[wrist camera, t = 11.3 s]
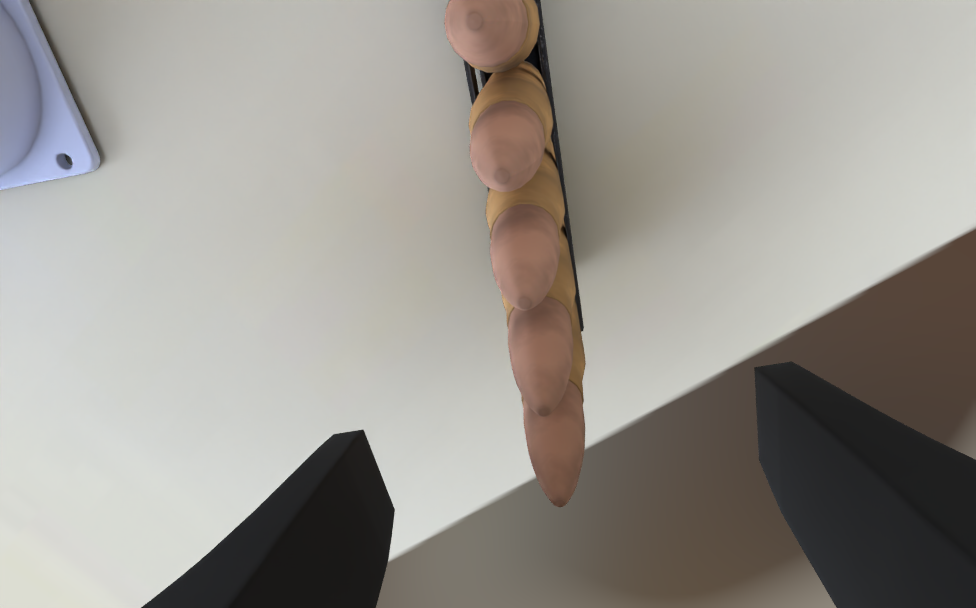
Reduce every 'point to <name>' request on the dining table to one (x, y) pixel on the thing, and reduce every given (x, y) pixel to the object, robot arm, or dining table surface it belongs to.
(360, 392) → the dining table surface
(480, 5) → the ammunition clip
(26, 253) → the dining table surface
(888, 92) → the dining table surface
